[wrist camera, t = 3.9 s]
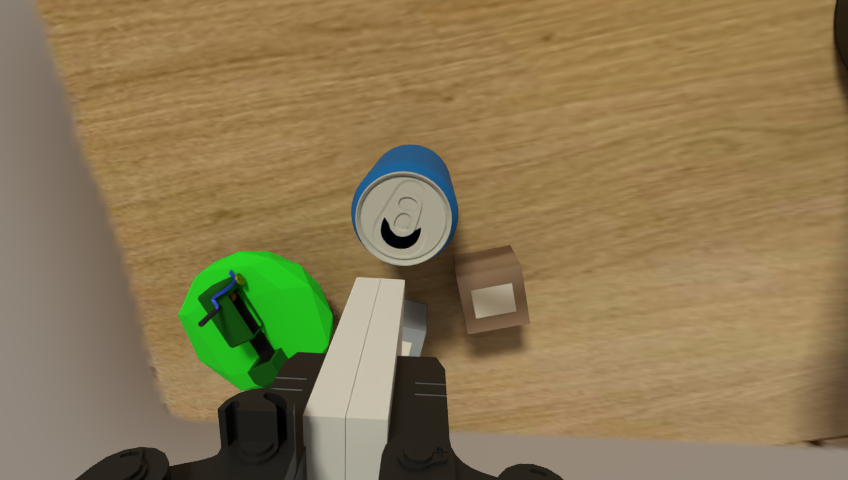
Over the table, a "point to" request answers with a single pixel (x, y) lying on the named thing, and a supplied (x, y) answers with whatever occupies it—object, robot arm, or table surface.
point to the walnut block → (491, 289)
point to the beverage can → (405, 206)
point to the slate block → (413, 328)
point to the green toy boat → (255, 316)
